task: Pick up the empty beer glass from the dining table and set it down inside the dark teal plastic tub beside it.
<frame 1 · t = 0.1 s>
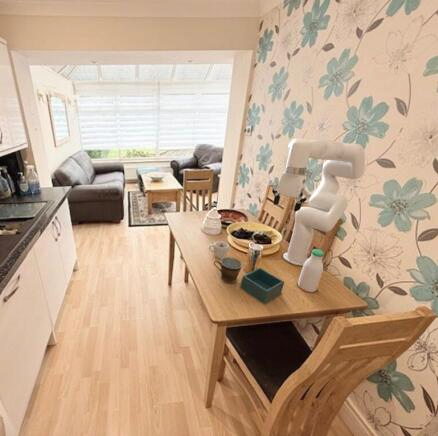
hand: (285, 207, 110), 37 cm above the table, tool pointing down, fingers open, 9 cm apart
milk bottle: (306, 287, 114), on the table
ceramic cup: (225, 278, 120), on the table
beer glass: (251, 271, 126), on the table
tub: (260, 290, 112), on the table
cup: (217, 256, 140), on the table
honey pot: (211, 230, 170), on the table
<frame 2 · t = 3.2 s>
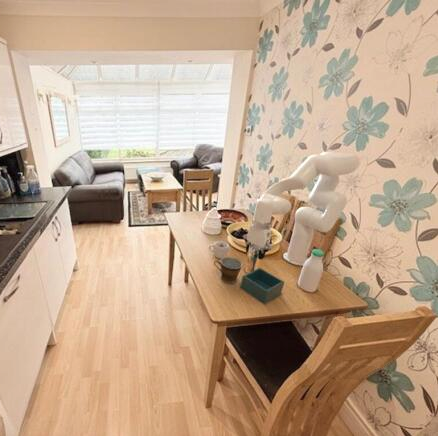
hand: (254, 254, 122), 10 cm above the table, tool pointing down, fingers closed on beer glass, 7 cm apart
beer glass: (251, 271, 126), on the table, touching gripper
everything else where it was.
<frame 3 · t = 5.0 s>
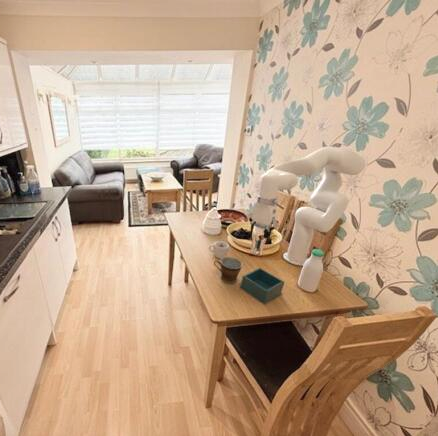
hand: (259, 234, 117), 22 cm above the table, tool pointing down, fingers closed on beer glass, 7 cm apart
beer glass: (256, 252, 121), point 12 cm above the table, touching gripper
everything else where it was.
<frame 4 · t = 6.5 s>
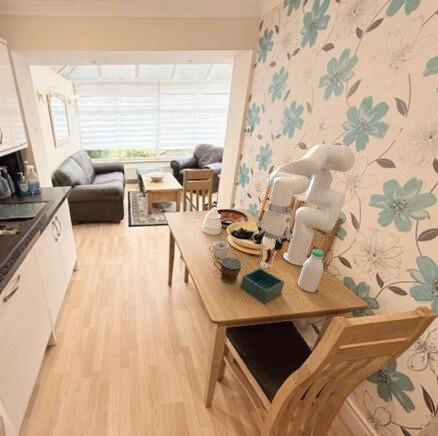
hand: (269, 245, 104), 24 cm above the table, tool pointing down, fingers closed on beer glass, 7 cm apart
beer glass: (265, 265, 108), point 13 cm above the table, touching gripper
everything else where it was.
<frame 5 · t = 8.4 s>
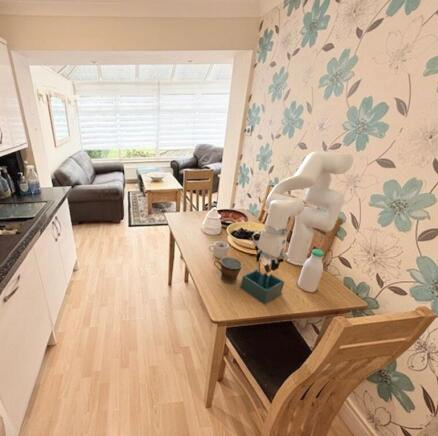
hand: (266, 264, 106), 15 cm above the table, tool pointing down, fingers closed on beer glass, 7 cm apart
beer glass: (262, 283, 110), point 4 cm above the table, touching gripper
everything else where it was.
when the fingers open (11 cm above the table, at t = 9.9 s): beer glass stays where it is, resting on tub.
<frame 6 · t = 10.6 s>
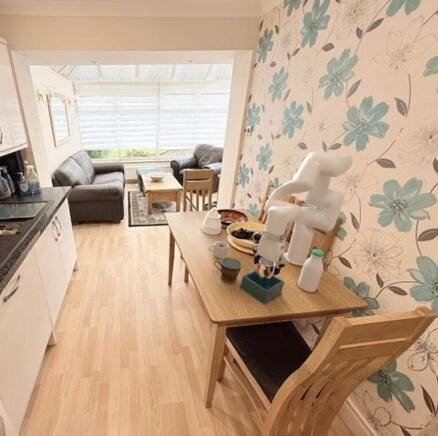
hand: (265, 268, 107), 12 cm above the table, tool pointing down, fingers open, 9 cm apart
beer glass: (260, 289, 112), point 1 cm above the table, touching tub
everything else where it was.
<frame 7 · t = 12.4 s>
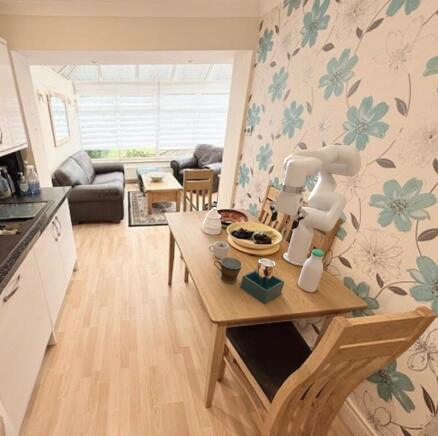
hand: (283, 224, 109), 30 cm above the table, tool pointing down, fingers open, 9 cm apart
nothing on the table moved.
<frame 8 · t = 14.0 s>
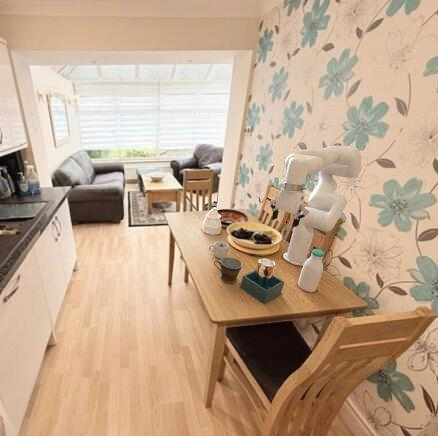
hand: (284, 222, 110), 30 cm above the table, tool pointing down, fingers open, 9 cm apart
nothing on the table moved.
at the end: beer glass inside the target area in the tub (0.0 cm from its centre), point 0.6 cm above the tub's base; beer glass tilted 0°; the gripper is holding nothing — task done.
